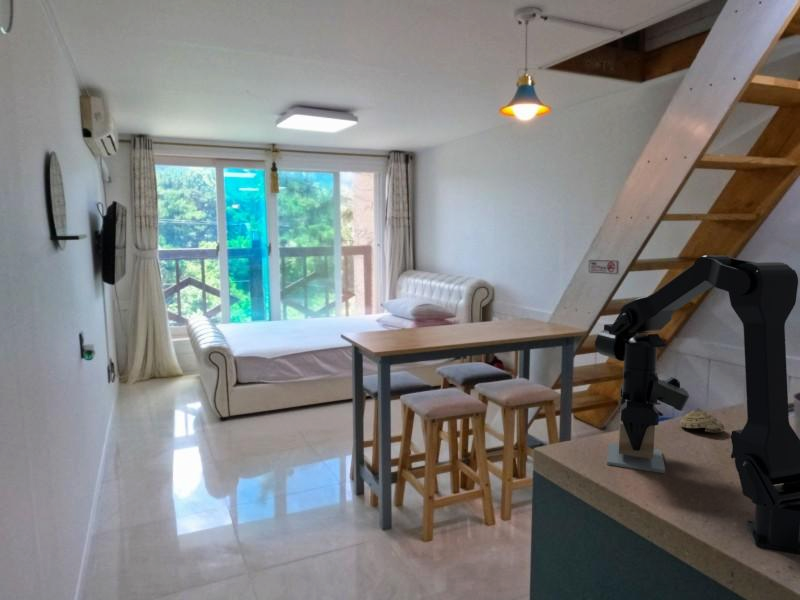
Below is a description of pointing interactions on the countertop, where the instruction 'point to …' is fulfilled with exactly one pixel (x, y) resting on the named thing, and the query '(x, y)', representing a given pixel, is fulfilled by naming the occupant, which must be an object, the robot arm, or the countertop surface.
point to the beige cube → (646, 445)
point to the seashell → (702, 421)
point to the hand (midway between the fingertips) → (635, 444)
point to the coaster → (635, 460)
